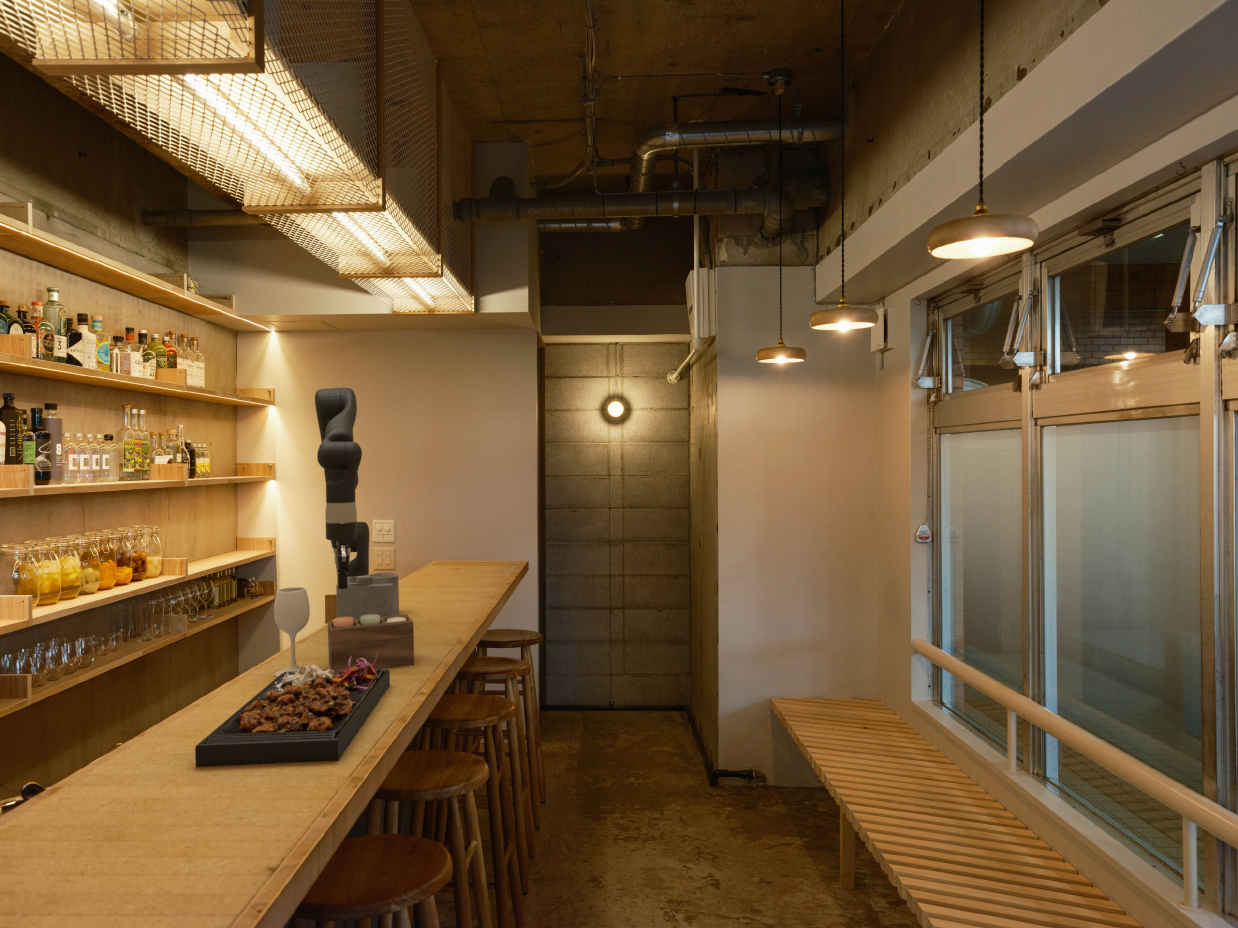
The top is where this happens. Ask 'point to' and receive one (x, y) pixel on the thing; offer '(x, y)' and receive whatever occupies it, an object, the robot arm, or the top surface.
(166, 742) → the top surface
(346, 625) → the orange brown egg
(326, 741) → the food platter
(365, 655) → the three egg wooden crate
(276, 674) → the white bowl
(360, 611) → the hip flask
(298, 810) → the top surface
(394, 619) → the pale beige egg
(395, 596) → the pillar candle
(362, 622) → the pale green egg
